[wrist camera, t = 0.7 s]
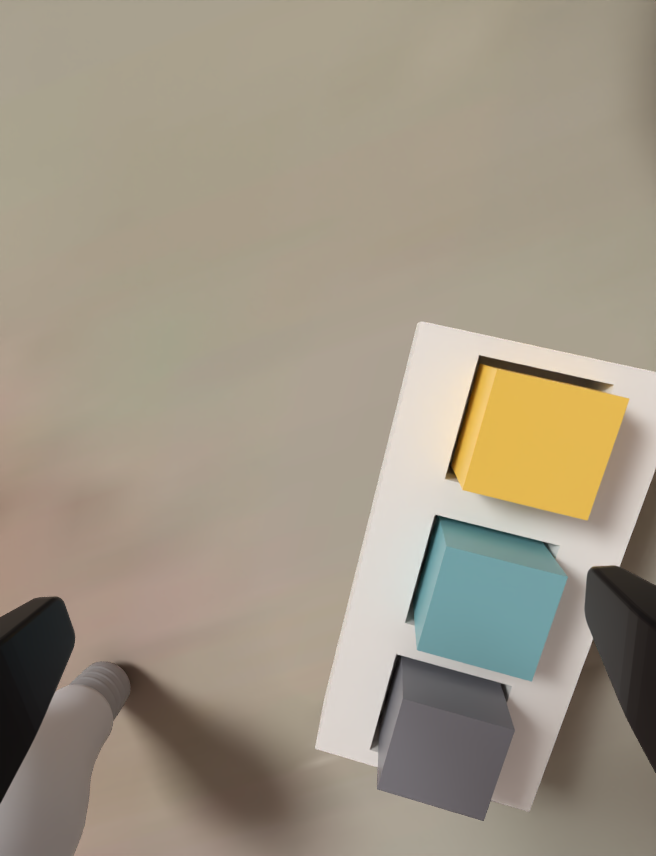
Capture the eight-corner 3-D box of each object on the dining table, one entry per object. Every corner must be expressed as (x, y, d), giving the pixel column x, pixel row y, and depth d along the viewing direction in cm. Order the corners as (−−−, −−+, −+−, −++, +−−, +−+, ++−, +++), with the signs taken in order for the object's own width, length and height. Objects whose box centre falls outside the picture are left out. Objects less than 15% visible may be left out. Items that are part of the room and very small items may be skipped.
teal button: (539, 537, 19) (568, 577, 16) (510, 627, 20) (531, 681, 17) (438, 512, 20) (446, 546, 16) (413, 602, 20) (416, 650, 17)
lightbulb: (183, 640, 24) (16, 881, 14) (161, 742, 26) (-9, 1036, 15) (68, 603, 25) (-181, 807, 14) (51, 704, 26) (-189, 963, 15)
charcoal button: (496, 670, 20) (515, 730, 17) (470, 750, 21) (483, 821, 18) (401, 644, 21) (402, 698, 18) (379, 723, 22) (377, 788, 19)
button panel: (643, 372, 19) (688, 379, 16) (511, 751, 23) (529, 812, 20) (417, 323, 20) (421, 321, 17) (324, 697, 24) (314, 748, 21)
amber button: (588, 388, 18) (629, 398, 15) (555, 490, 19) (587, 520, 16) (479, 363, 18) (497, 369, 15) (451, 465, 19) (462, 490, 16)
